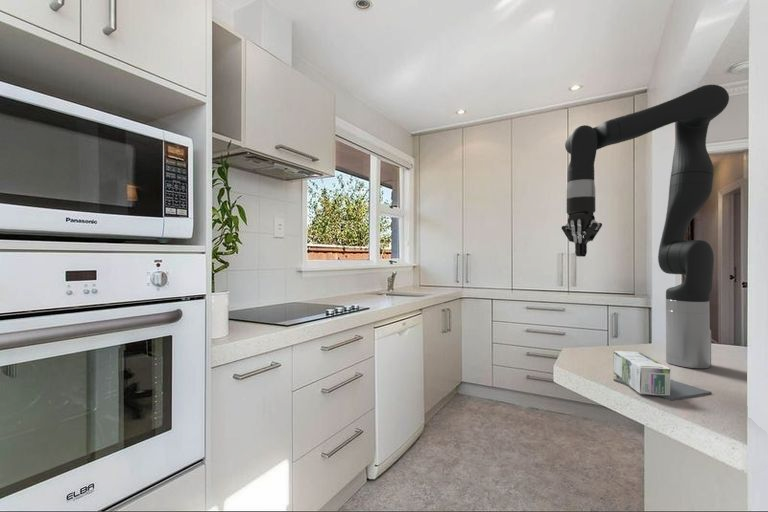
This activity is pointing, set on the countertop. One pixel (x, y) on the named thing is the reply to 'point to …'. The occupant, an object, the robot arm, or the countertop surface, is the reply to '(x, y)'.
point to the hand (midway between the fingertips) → (580, 256)
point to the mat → (679, 390)
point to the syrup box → (642, 373)
